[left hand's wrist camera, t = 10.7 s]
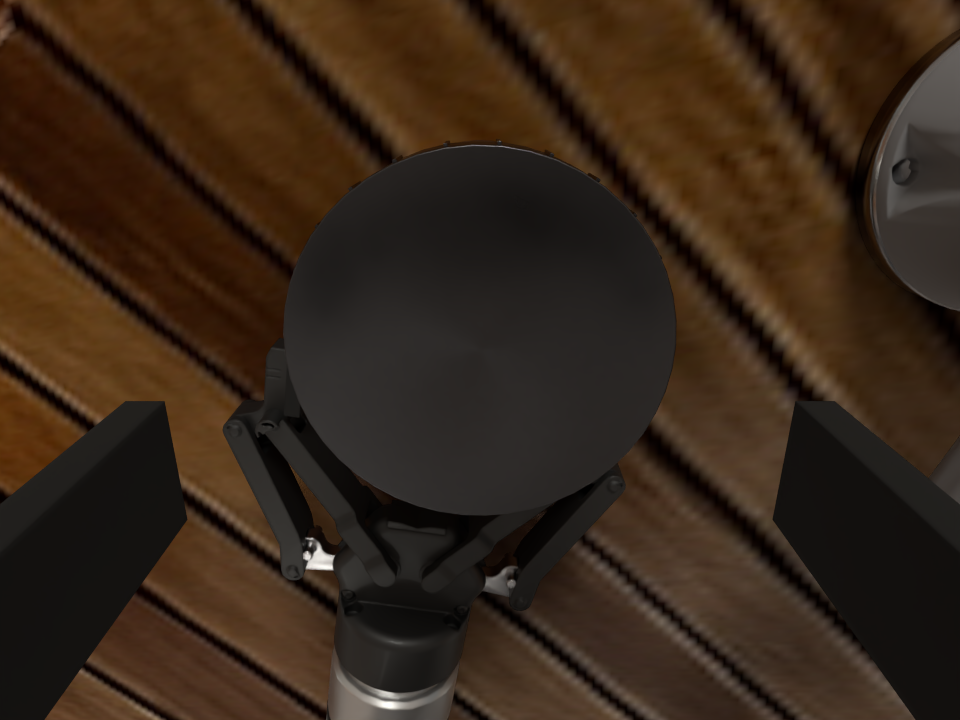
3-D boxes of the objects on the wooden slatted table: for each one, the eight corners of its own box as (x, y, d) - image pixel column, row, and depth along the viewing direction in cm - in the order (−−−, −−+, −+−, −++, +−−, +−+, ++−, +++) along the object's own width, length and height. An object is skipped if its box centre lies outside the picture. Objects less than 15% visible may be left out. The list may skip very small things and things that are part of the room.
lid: (255, 173, 19) (229, 181, 17) (647, 106, 19) (667, 105, 17) (346, 502, 23) (334, 539, 21) (670, 457, 23) (688, 490, 21)
